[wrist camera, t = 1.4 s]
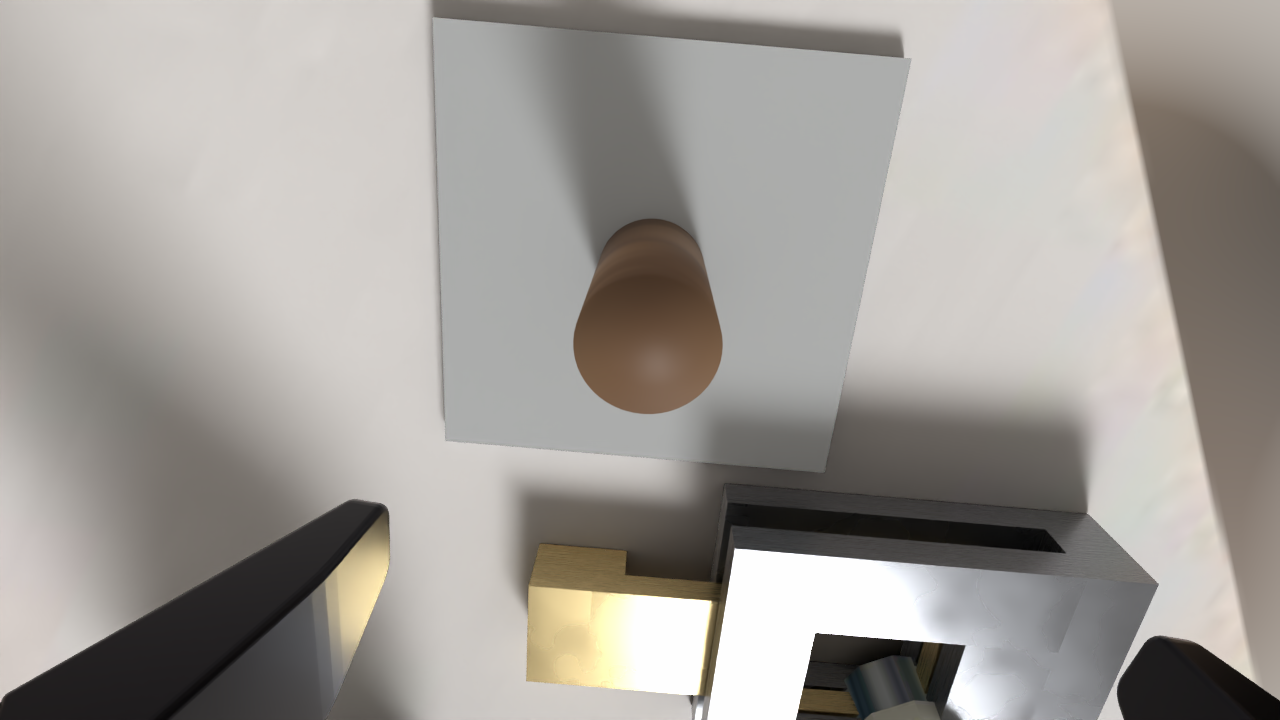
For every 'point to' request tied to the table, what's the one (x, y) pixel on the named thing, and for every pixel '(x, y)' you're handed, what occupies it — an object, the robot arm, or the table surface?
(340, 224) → the table surface
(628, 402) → the walnut peg
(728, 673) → the grey block with slider
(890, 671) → the white long cylinder
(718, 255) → the grey mat
